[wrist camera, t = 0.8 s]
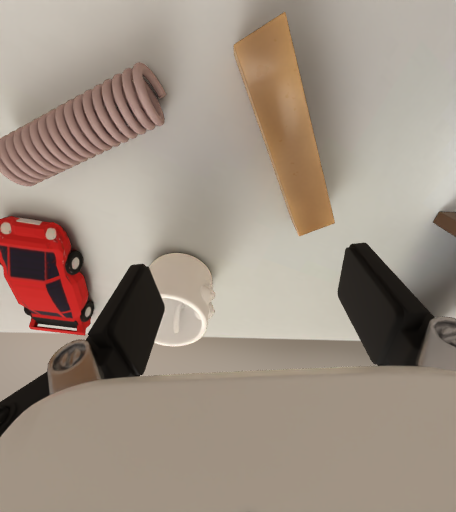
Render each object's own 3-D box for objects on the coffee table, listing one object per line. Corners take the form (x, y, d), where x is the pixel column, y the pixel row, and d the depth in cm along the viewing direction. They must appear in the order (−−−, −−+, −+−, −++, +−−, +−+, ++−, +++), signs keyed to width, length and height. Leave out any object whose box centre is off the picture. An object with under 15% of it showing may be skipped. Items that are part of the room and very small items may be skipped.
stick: (276, 26, 19) (285, 10, 16) (323, 208, 28) (334, 223, 25) (233, 53, 20) (233, 44, 17) (291, 220, 29) (299, 236, 26)
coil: (134, 51, 17) (-31, 144, 21) (163, 119, 19) (8, 192, 23) (155, 66, 21) (14, 142, 25) (178, 121, 23) (44, 183, 27)
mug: (220, 306, 39) (217, 356, 31) (160, 307, 39) (143, 357, 32) (214, 247, 32) (208, 293, 24) (142, 249, 32) (114, 294, 25)
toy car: (71, 218, 30) (45, 237, 26) (104, 318, 41) (90, 343, 37) (-11, 210, 29) (-51, 228, 25) (45, 313, 41) (24, 337, 37)
